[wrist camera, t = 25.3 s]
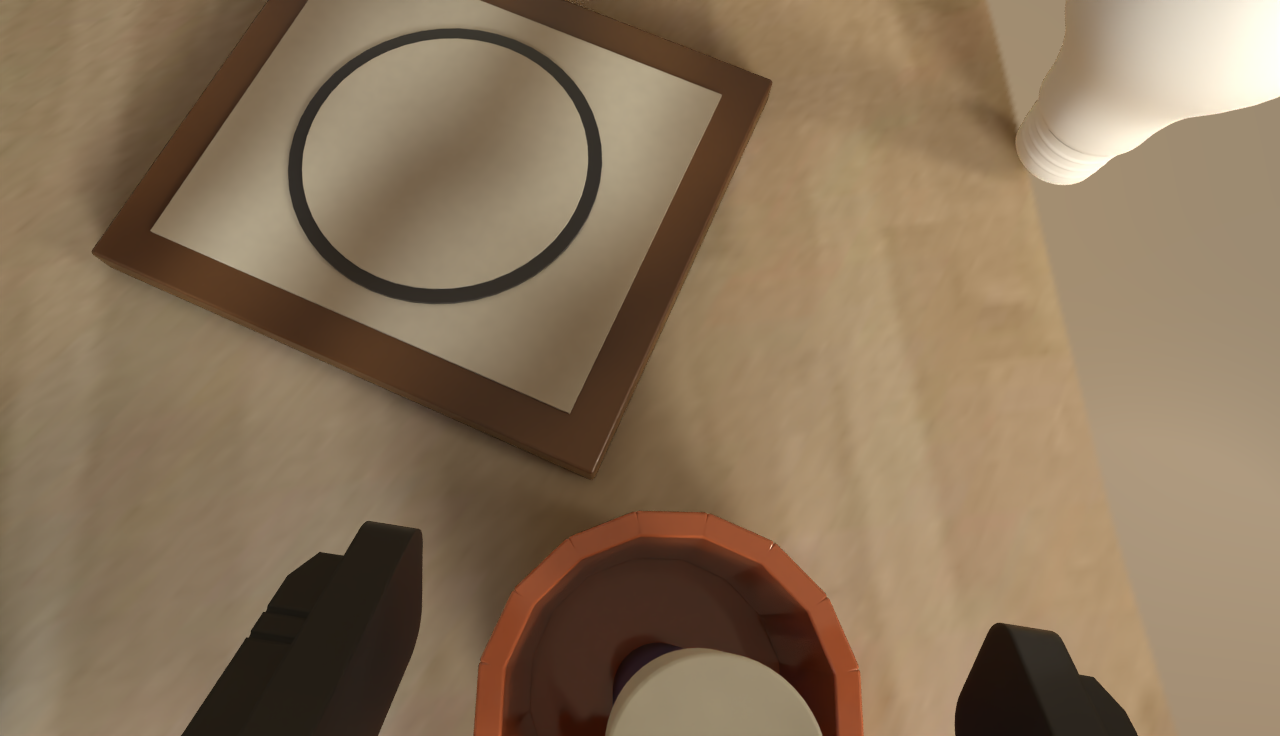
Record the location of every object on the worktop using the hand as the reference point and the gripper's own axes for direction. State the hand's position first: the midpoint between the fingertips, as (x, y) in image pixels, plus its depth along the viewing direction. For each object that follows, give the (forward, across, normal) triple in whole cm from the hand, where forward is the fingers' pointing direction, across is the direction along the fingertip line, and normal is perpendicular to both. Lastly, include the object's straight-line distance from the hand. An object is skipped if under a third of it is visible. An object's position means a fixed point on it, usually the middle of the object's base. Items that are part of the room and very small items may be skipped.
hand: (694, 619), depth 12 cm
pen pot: (+6, 0, +8) cm, 10 cm away
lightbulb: (+18, -10, -4) cm, 21 cm away
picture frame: (+15, +8, -1) cm, 17 cm away
